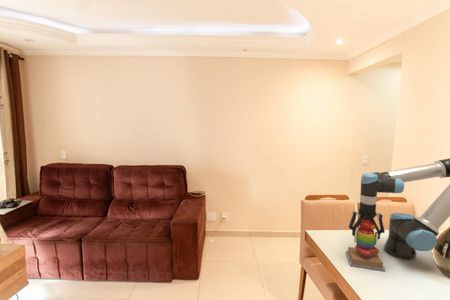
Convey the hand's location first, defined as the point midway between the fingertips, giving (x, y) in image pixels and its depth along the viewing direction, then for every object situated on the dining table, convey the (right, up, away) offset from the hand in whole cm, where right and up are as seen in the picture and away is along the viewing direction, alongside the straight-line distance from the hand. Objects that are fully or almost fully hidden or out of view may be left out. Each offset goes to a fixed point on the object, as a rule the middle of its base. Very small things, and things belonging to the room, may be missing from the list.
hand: (365, 242), depth 133 cm
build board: (0, -11, +1) cm, 11 cm away
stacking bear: (0, -4, 0) cm, 4 cm away
